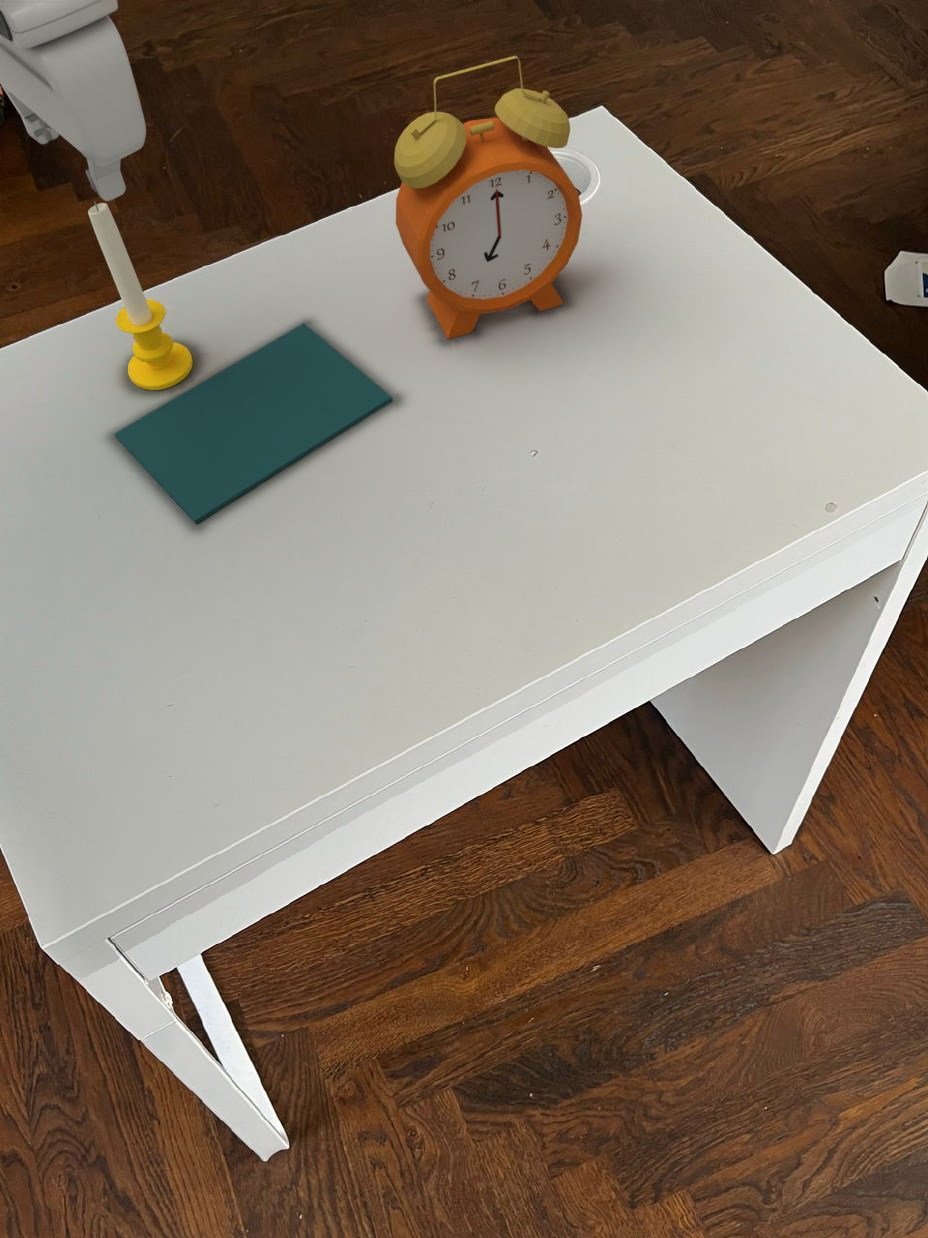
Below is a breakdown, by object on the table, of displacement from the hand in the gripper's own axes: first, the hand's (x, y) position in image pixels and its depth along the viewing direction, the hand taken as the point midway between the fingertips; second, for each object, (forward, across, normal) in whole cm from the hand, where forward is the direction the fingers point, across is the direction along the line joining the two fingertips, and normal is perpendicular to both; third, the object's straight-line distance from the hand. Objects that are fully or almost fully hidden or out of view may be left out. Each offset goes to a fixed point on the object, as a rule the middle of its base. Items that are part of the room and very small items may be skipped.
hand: (77, 164), depth 79 cm
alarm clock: (+18, +14, +24) cm, 33 cm away
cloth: (+18, +11, +2) cm, 21 cm away
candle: (+18, +1, 0) cm, 18 cm away
